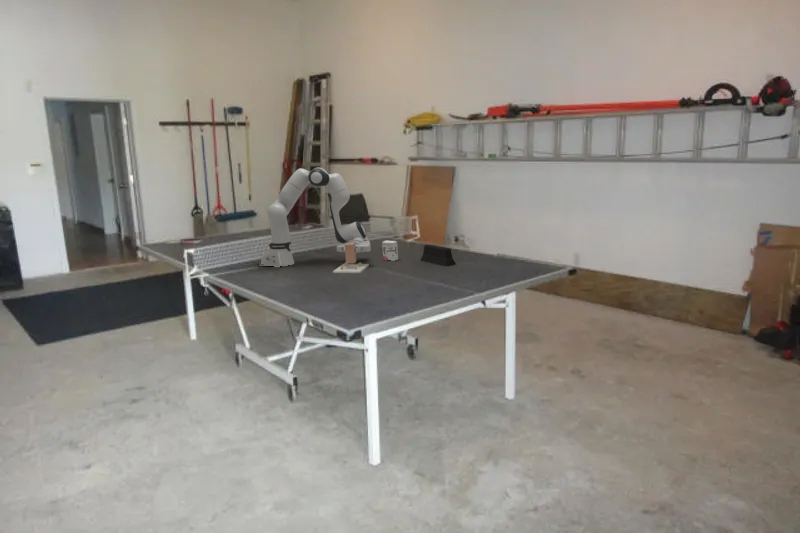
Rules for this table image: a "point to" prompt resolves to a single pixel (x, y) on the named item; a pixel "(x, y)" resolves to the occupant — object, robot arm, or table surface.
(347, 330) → the table surface
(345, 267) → the mounting plate
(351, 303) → the table surface
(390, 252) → the ink box
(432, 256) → the barrier
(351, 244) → the terracotta block
